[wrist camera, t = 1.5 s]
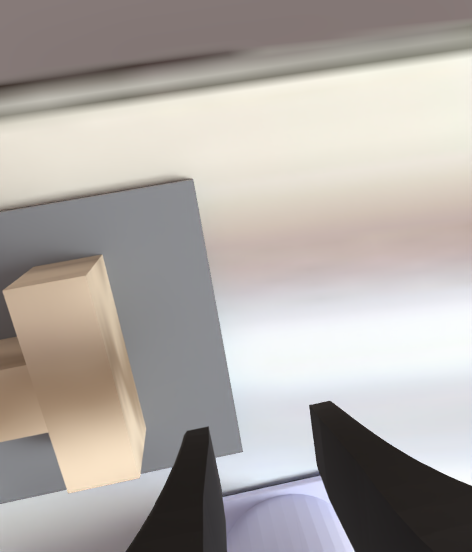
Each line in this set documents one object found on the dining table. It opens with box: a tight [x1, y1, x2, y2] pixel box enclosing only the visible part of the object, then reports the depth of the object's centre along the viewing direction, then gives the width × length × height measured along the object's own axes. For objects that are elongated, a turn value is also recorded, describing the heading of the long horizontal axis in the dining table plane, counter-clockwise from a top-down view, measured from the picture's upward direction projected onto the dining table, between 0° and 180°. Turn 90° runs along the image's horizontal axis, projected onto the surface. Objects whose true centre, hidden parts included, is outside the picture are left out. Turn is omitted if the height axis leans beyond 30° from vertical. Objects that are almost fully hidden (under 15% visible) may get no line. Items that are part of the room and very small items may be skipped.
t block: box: [0, 255, 146, 493], centre depth 19 cm, size 9×9×4 cm
